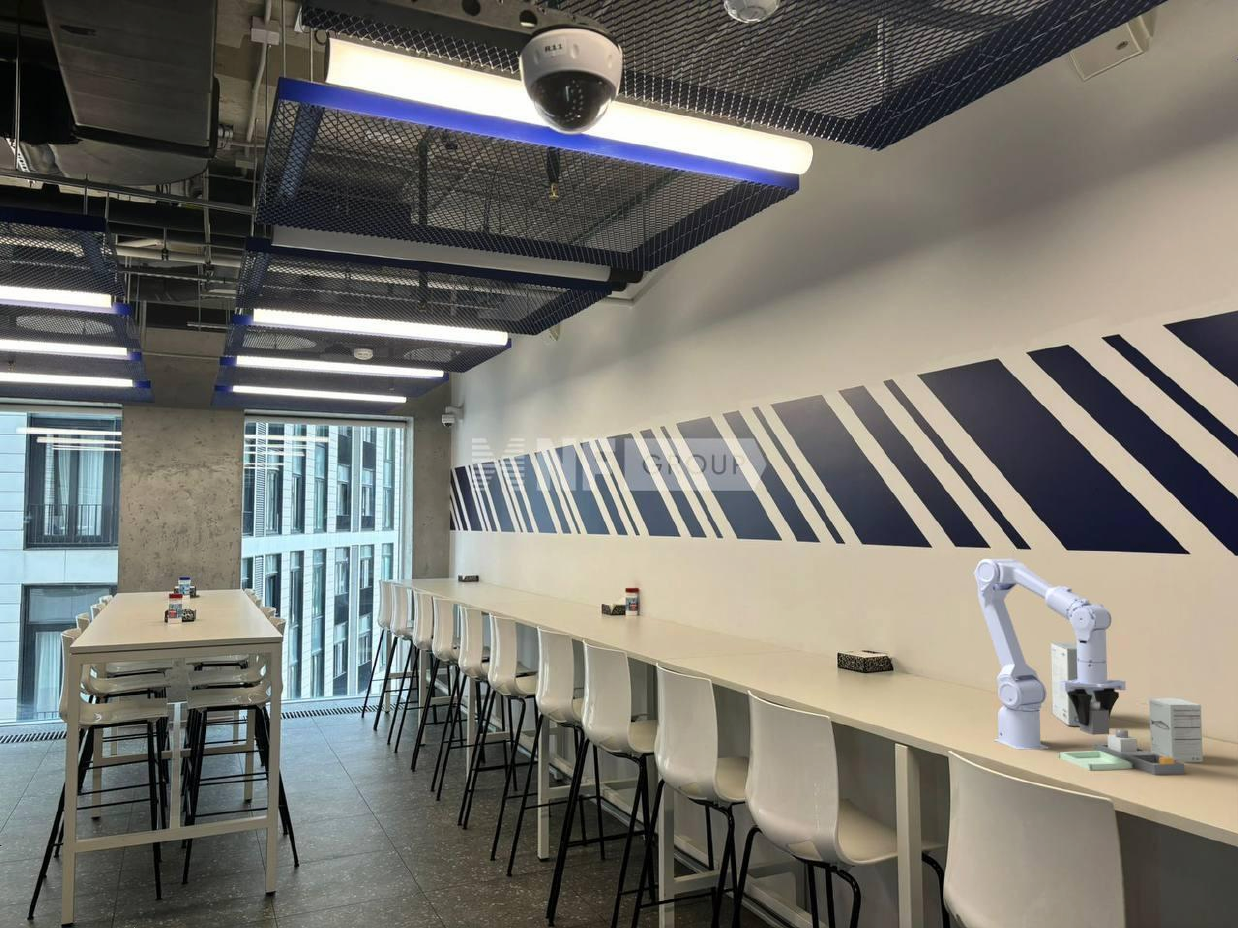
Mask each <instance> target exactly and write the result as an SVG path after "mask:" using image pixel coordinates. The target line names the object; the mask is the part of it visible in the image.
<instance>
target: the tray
mask: <svg viewBox="0 0 1238 928" xmlns="http://www.w3.org/2000/svg"><path fill="white" fill-rule="evenodd" d="M1058 759H1060V760H1062V761H1065V762H1067V763H1070V764H1072V765H1075V766H1078V767H1080V768H1082V769H1085V770H1087V771H1110V770H1111V771H1112V770H1113V771H1115V770H1133V769H1134V767H1133V765H1132V762H1129V761H1126V760H1124V759H1121V758H1118V757H1115V756H1113V755H1110V754H1107V753H1104V752H1102V751H1094V750H1087V751H1086V750H1085V751H1084V750H1082V751H1064V752H1063V751H1061V752H1058Z"/></svg>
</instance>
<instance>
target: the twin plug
mask: <svg viewBox="0 0 1238 928" xmlns="http://www.w3.org/2000/svg"><path fill="white" fill-rule="evenodd" d="M1137 741H1138V739H1137V738H1136V737H1133V736H1129V730H1128V729H1125V728H1116V729H1115V734H1107V743H1108V748H1110V749H1113V750H1116V751H1119V752H1133V751H1137V748H1138V742H1137Z"/></svg>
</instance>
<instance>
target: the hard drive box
mask: <svg viewBox="0 0 1238 928" xmlns="http://www.w3.org/2000/svg"><path fill="white" fill-rule="evenodd" d="M1050 649H1051V650H1050V654H1051V656H1050V657H1051V660H1050V662H1051V693H1052V694H1051V697H1052V715H1054V716H1055V717H1056V718H1058V719H1059V720H1060V721H1061V722H1063V723H1064V724H1065V725H1067V726H1071V727H1072V726H1073V727H1080V723H1079V719H1078V716H1077V712H1076V710H1075V707H1074V705H1073V703H1072V701H1071V699H1070V697H1069V696H1068V694H1067V692H1064V691H1061V690H1060V689H1059V681H1069V680H1077V679H1078V676H1077V642H1065V641H1064V642H1063V641H1062V642H1061V641H1051V643H1050ZM1087 688H1096V687H1087ZM1085 692H1087V694H1090V695H1092V699H1091V700H1092V701H1096V699H1095V695H1094V692H1093V690H1091V691H1085Z"/></svg>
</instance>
